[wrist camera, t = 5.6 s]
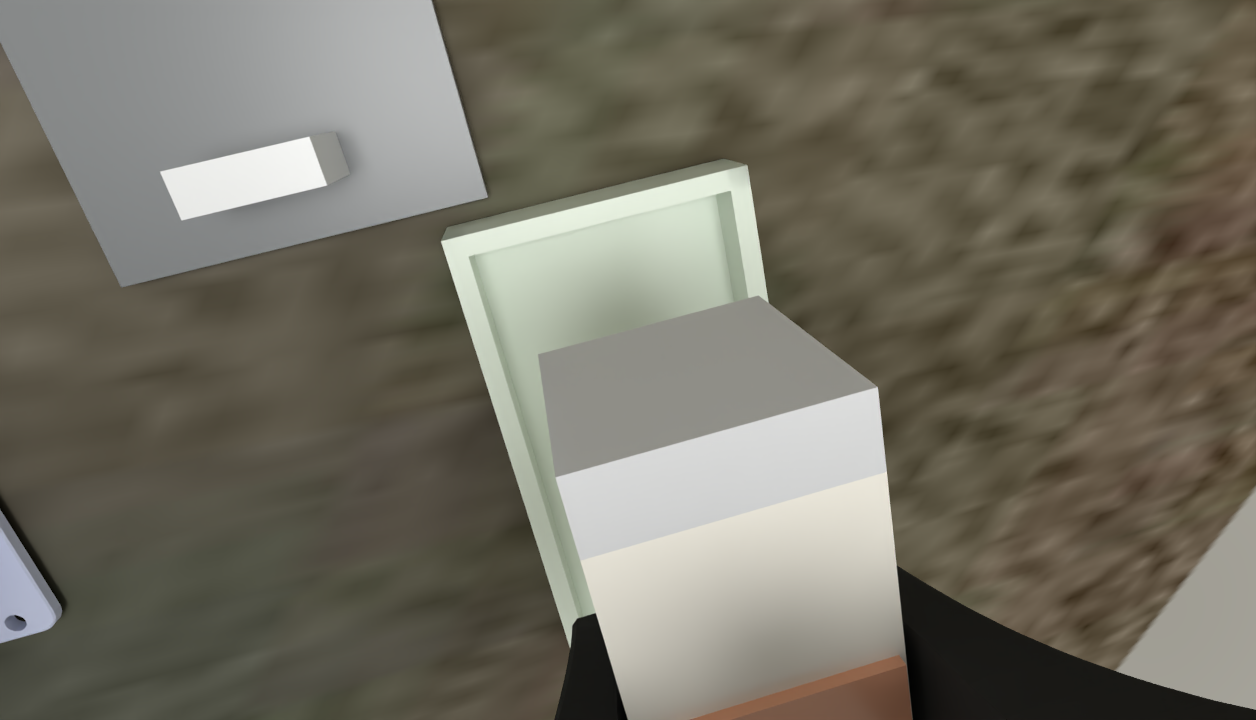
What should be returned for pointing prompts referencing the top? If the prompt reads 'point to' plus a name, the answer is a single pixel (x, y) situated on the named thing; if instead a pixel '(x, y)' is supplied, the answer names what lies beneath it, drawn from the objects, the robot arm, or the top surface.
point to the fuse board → (242, 120)
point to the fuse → (731, 518)
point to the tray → (592, 306)
